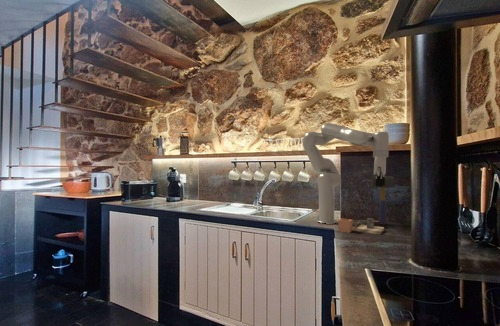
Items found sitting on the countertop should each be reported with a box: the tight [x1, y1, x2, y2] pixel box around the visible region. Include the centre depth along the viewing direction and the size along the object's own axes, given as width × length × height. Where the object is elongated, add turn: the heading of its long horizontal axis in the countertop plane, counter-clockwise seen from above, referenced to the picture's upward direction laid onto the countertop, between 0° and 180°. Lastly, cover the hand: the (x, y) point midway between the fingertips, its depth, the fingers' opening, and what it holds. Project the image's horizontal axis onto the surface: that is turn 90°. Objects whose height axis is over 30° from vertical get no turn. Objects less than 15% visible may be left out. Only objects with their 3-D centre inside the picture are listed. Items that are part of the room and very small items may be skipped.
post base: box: [355, 217, 385, 235], centre depth 144 cm, size 12×12×6 cm
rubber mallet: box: [371, 175, 396, 225], centre depth 161 cm, size 12×8×30 cm, turn 70°
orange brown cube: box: [337, 218, 353, 234], centre depth 143 cm, size 6×6×6 cm
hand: (380, 185), depth 141 cm, fingers open, 9 cm apart
